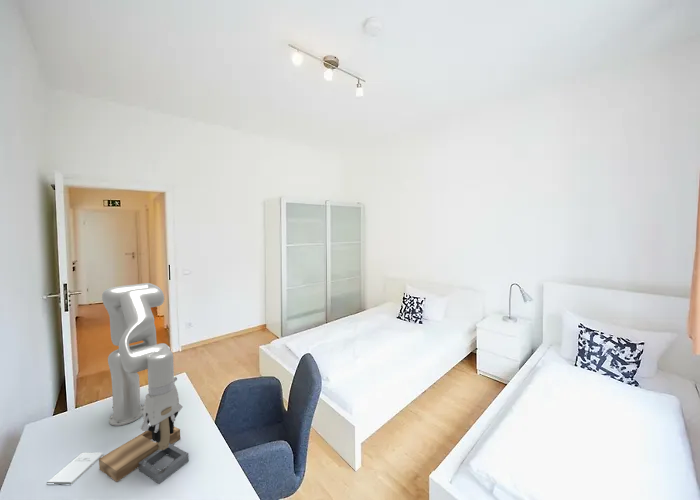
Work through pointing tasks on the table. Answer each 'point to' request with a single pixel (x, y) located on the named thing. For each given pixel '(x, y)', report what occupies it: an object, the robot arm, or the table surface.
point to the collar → (160, 476)
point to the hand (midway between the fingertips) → (163, 436)
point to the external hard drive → (75, 468)
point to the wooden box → (131, 454)
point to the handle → (164, 431)
